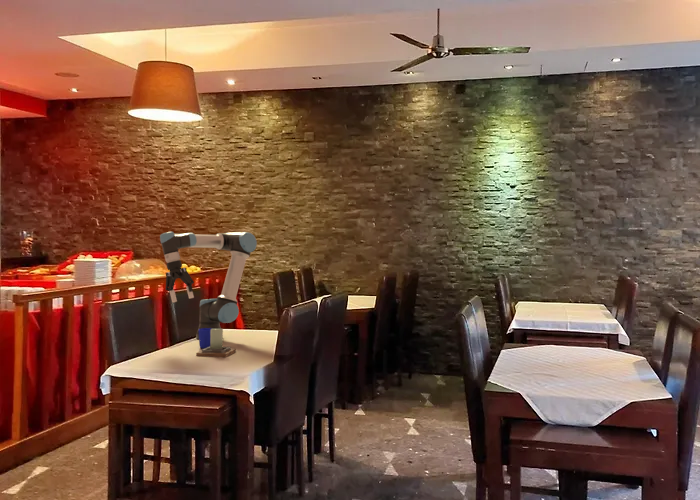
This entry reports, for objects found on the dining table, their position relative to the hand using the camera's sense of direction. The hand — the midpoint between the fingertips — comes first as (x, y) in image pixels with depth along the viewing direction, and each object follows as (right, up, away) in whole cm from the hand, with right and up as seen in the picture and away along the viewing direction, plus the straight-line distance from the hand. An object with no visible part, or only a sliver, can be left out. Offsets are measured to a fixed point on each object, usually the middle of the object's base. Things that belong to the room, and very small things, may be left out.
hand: (183, 300), depth 322 cm
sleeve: (+21, -24, -14) cm, 35 cm away
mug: (+12, -26, +5) cm, 29 cm away
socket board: (+21, -26, -14) cm, 36 cm away
